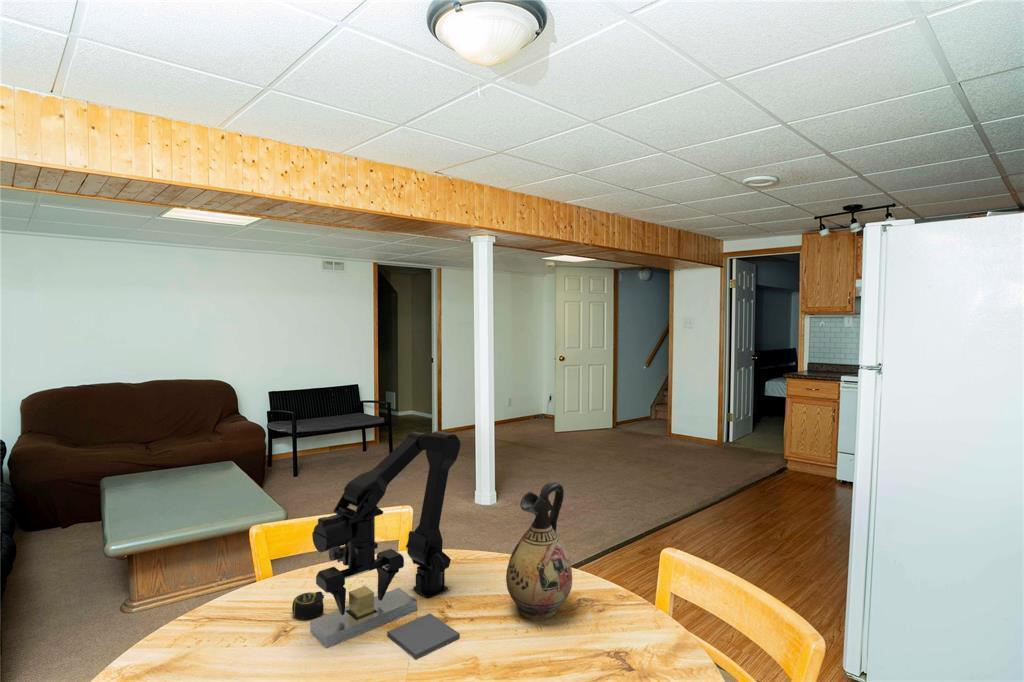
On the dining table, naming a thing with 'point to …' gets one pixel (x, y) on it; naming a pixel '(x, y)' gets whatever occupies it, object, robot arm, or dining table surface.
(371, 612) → the brass block
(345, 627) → the metal plate
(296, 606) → the tape measure
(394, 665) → the dining table surface
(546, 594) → the ceramic jug
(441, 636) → the rubber mat
